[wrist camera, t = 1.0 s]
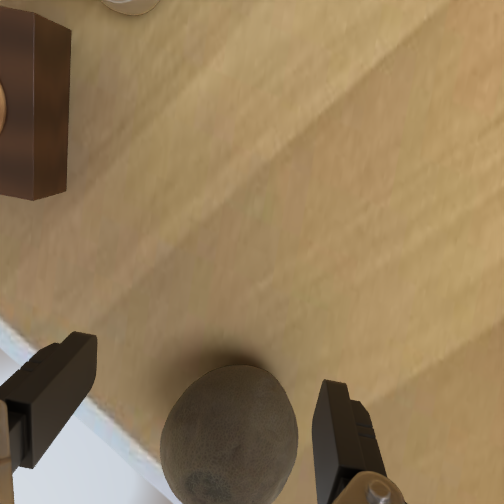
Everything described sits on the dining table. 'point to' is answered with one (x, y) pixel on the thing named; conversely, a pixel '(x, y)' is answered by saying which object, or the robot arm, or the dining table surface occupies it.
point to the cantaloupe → (230, 439)
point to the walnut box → (33, 104)
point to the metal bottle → (131, 6)
